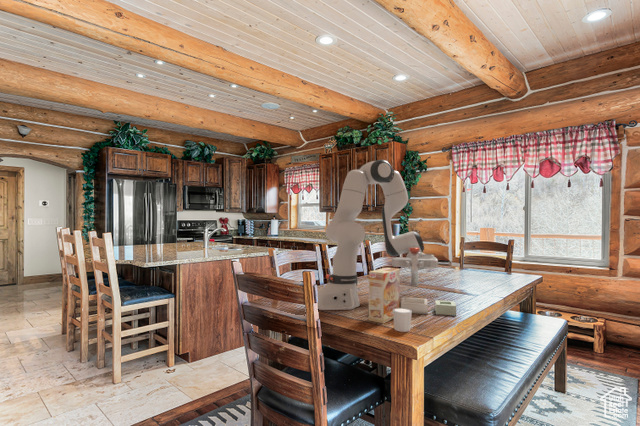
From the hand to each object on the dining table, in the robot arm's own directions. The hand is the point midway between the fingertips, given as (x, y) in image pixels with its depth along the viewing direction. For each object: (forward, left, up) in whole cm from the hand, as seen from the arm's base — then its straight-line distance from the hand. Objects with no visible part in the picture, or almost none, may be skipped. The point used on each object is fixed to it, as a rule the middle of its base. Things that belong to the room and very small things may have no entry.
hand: (414, 264), depth 156 cm
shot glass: (-18, -22, -20) cm, 35 cm away
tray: (0, +1, -20) cm, 20 cm away
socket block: (+11, -6, -20) cm, 24 cm away
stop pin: (+1, +1, -9) cm, 9 cm away
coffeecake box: (-18, -7, -20) cm, 28 cm away
